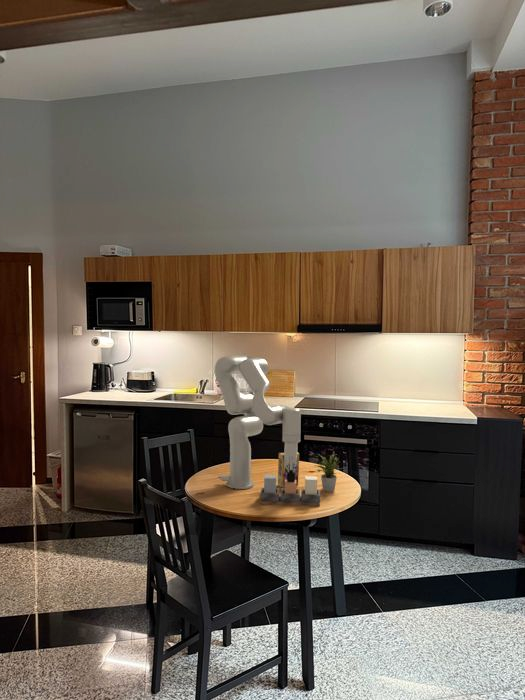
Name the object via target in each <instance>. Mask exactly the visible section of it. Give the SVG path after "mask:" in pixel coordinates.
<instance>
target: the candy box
mask: <svg viewBox="0 0 525 700" xmlns="http://www.w3.org/2000/svg"><path fill="white" fill-rule="evenodd" d="M277 467H278V468H277V486H278V487H279V488H285V480H287V471H288V465H287V466H286V467H285V466H284V452H278V466H277ZM299 467H300V453H299V452H298V451H297V462H296V466H295V467H294V472H295V480H296V487H297V486H299V473H300V472H299V469H300V468H299Z"/></svg>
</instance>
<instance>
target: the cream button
mask: <svg viewBox="0 0 525 700" xmlns="http://www.w3.org/2000/svg"><path fill="white" fill-rule="evenodd" d="M304 489H305V494H312V495H317V490H318V477H317V476H315V475H314V476H313V475H305V476H304Z"/></svg>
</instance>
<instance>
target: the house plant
mask: <svg viewBox="0 0 525 700" xmlns="http://www.w3.org/2000/svg"><path fill="white" fill-rule="evenodd" d="M317 455H318V456H319V457H321V460H319V459H316V458H313V459H314V460H316V461H317V462H319V464H317V465H316V464H314V465H313V466H314V467H316V468H317V469H316V472H317V473H320V472H323V474H321V475H320V480H321V485H322V486H321V487H322V490H323V491H324V492H329V493H331V491H332V492H334V491H335V489H336V483H337V478H338V476H337V475H336V474H337V472H336V471H337V470H339V469H340V470H341V469H342V470H343V467H339V468H336V467H337V465H338V464H339V462H338V459H339V457H337V456H335V453H333V454H331V455H330V457H329V459H327V458H326V457H325V456H322V455H320V454H318V453H317ZM334 457H335V458H334ZM335 468H336V469H335Z"/></svg>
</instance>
